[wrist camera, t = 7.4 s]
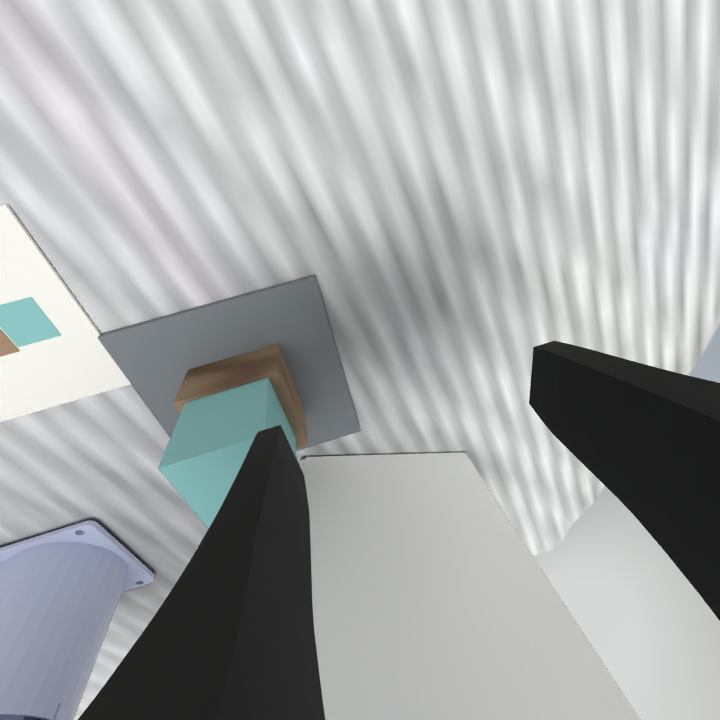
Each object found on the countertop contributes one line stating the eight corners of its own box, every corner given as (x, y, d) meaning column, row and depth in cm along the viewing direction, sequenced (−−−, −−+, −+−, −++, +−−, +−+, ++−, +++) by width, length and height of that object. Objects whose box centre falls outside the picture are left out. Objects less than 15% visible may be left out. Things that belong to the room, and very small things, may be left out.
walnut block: (227, 435, 20) (219, 472, 18) (188, 369, 18) (172, 402, 15) (305, 411, 21) (308, 444, 18) (277, 343, 18) (277, 372, 16)
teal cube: (222, 459, 18) (208, 529, 14) (185, 402, 15) (158, 468, 12) (295, 436, 18) (298, 499, 14) (268, 377, 16) (264, 435, 12)
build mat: (202, 475, 22) (201, 480, 22) (100, 334, 16) (97, 337, 16) (359, 426, 23) (360, 430, 23) (314, 274, 17) (315, 276, 17)
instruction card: (2, 419, 18) (-1, 422, 17) (-178, 250, 13) (-185, 251, 13) (135, 381, 18) (133, 383, 18) (7, 204, 13) (4, 205, 13)
